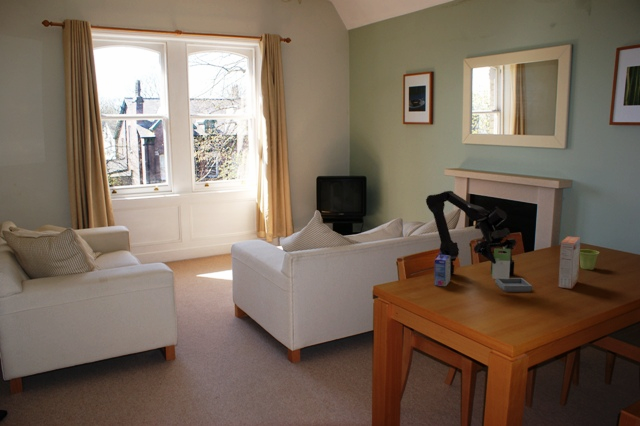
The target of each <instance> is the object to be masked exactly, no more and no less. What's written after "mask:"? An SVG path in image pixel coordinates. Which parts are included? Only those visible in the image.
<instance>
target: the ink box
mask: <svg viewBox="0 0 640 426" xmlns="http://www.w3.org/2000/svg"><path fill="white" fill-rule="evenodd" d="M493 250H494V251H493V253H492V254H493V256H494V258H495V261H496V263H495V264H494V263H492V274H491V278H492V279H495V280H496V279H509V278H510V276H509V272H510V254H512V249H502V248H493ZM502 251H506V252H507V253H503V252H502ZM501 252H502V253H501Z"/></svg>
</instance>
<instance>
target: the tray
mask: <svg viewBox="0 0 640 426" xmlns="http://www.w3.org/2000/svg"><path fill="white" fill-rule="evenodd" d="M494 281H495V285H496V286H498V287H499V288H500V289H501V290H502V291H503V292H506V293H507V292H512V293H513V292H514V293H516V292H519V293H520V292H521V293H522V292H527V293H528V292H531V293H532V292H533V285H532V284H530V283H529V282H528V281H527V280H525V279H524V278H522V277H509V279H495V280H494Z"/></svg>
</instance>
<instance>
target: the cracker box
mask: <svg viewBox="0 0 640 426" xmlns="http://www.w3.org/2000/svg"><path fill="white" fill-rule="evenodd" d="M580 250H581V237H577V236H570V235H569V236H566V237H565V238H564V239H563V240H561V242H560V250H559V252H560V253H559V270H558V271H559V272H558V273H559V274H558V288H562V289H567V290H568V289H569V290H572V289H573V288H574V287H575V285H576V284H577V283H578V280H579V266H580V264H579V263H580V255H579V252H580Z"/></svg>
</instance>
